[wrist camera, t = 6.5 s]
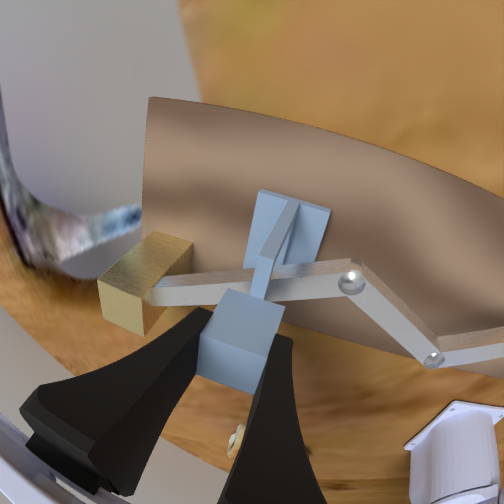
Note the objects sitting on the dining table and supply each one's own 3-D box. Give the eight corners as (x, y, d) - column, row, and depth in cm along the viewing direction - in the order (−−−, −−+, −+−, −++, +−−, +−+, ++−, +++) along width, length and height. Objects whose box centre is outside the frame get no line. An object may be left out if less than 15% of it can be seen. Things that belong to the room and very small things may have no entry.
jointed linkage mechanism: (562, 317, 15) (592, 376, 10) (155, 273, 24) (106, 326, 18) (589, 256, 12) (631, 310, 7) (142, 205, 21) (80, 250, 16)
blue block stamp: (331, 207, 17) (308, 325, 9) (302, 295, 20) (264, 423, 12) (261, 186, 18) (180, 282, 10) (243, 276, 21) (177, 391, 13)
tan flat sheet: (508, 376, 19) (510, 380, 19) (145, 268, 24) (142, 271, 24) (592, 252, 13) (595, 255, 12) (153, 96, 17) (149, 97, 17)
